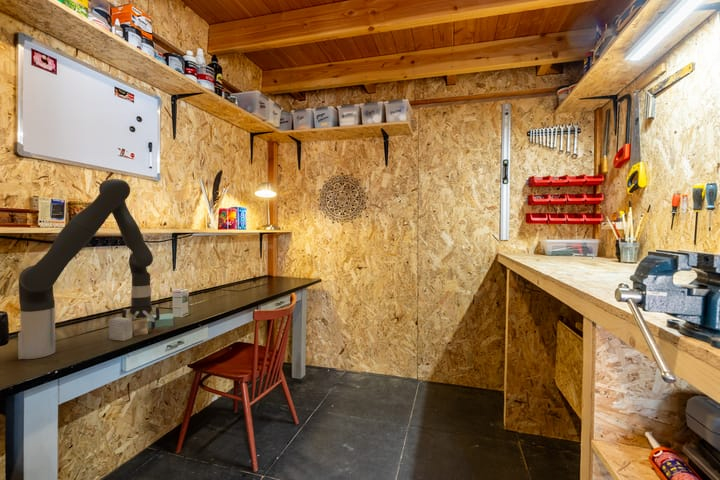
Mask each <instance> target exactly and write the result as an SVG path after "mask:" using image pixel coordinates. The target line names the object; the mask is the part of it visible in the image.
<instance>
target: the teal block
mask: <svg viewBox="0 0 720 480" xmlns="http://www.w3.org/2000/svg"><path fill="white" fill-rule="evenodd" d="M159 314H160V319H159V320H156V321H155V328H156V329H157V328H163V327H174V317H173V312H172V313H171V312H170V313H162V314H161V313H159ZM151 315H152V316H153V317H154V318H155V317H156V314H151ZM146 318H147V319H146V321H148V329H151V322H152V321H151V320H150V319H149V318H148V317H146ZM155 328H154V329H155Z"/></svg>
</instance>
